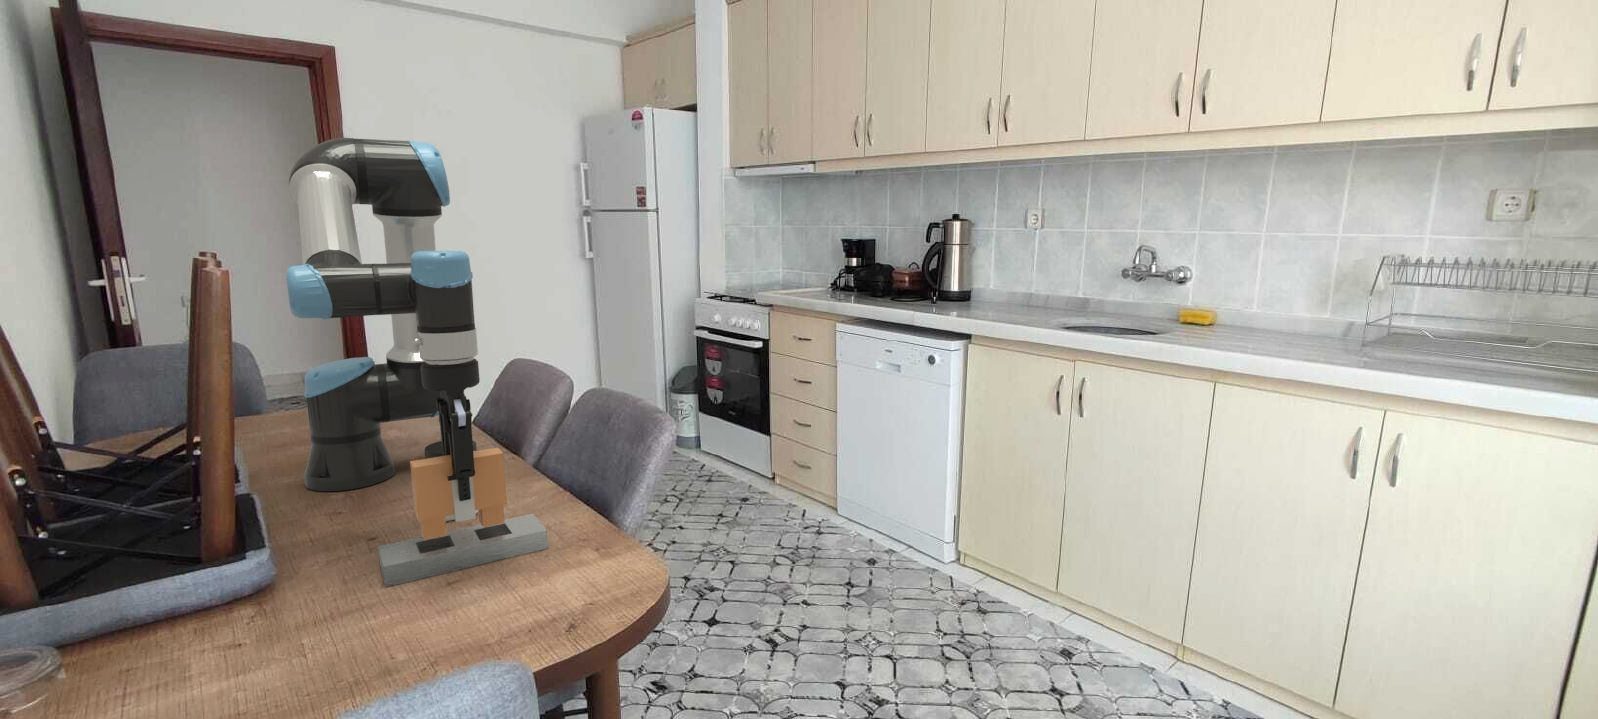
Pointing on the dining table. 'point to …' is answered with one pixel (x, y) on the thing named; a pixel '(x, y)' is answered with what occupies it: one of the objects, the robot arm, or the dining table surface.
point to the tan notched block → (438, 498)
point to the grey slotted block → (460, 549)
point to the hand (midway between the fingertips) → (462, 514)
